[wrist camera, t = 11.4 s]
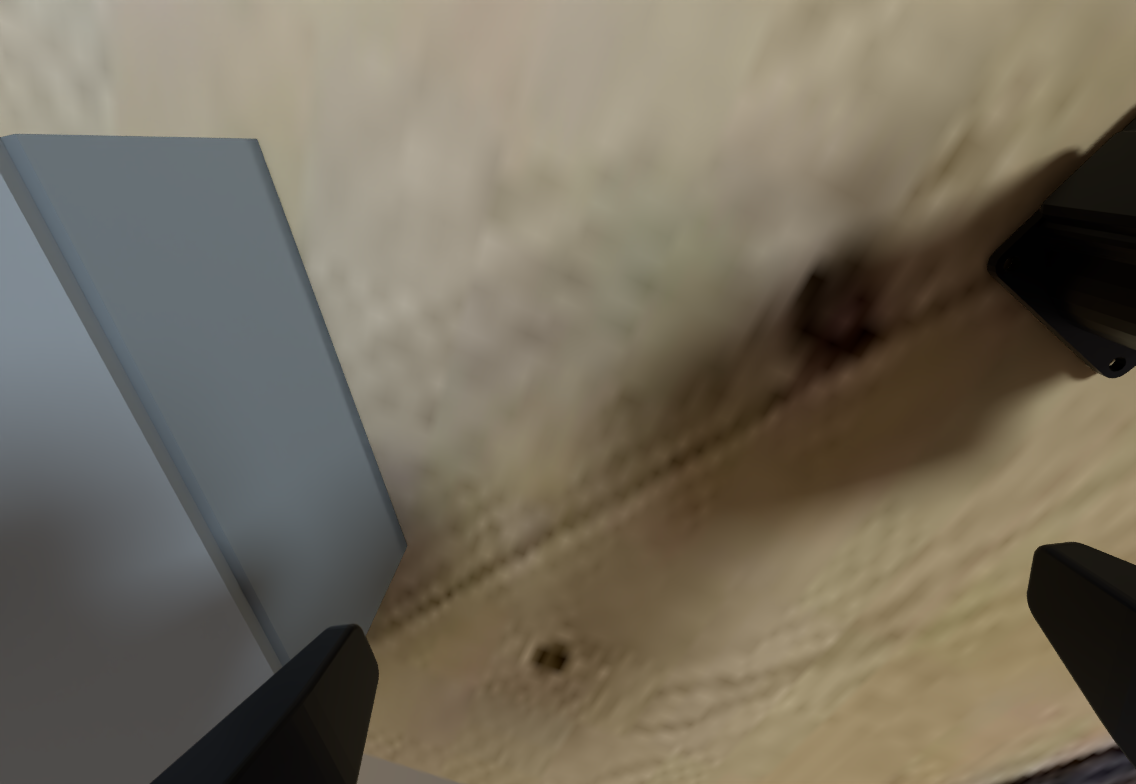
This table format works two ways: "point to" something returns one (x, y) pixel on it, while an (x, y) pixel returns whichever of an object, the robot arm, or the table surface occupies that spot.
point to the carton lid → (98, 548)
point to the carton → (227, 363)
